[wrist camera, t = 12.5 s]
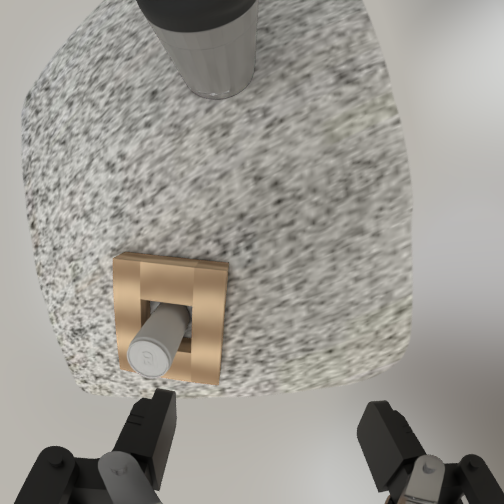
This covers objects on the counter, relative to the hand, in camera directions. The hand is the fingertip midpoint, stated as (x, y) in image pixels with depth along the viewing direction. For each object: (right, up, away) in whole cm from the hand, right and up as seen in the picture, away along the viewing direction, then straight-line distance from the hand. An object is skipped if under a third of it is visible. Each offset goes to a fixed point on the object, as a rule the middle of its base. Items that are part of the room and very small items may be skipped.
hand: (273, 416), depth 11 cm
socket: (-11, -2, +28) cm, 31 cm away
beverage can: (-11, -2, +28) cm, 31 cm away
